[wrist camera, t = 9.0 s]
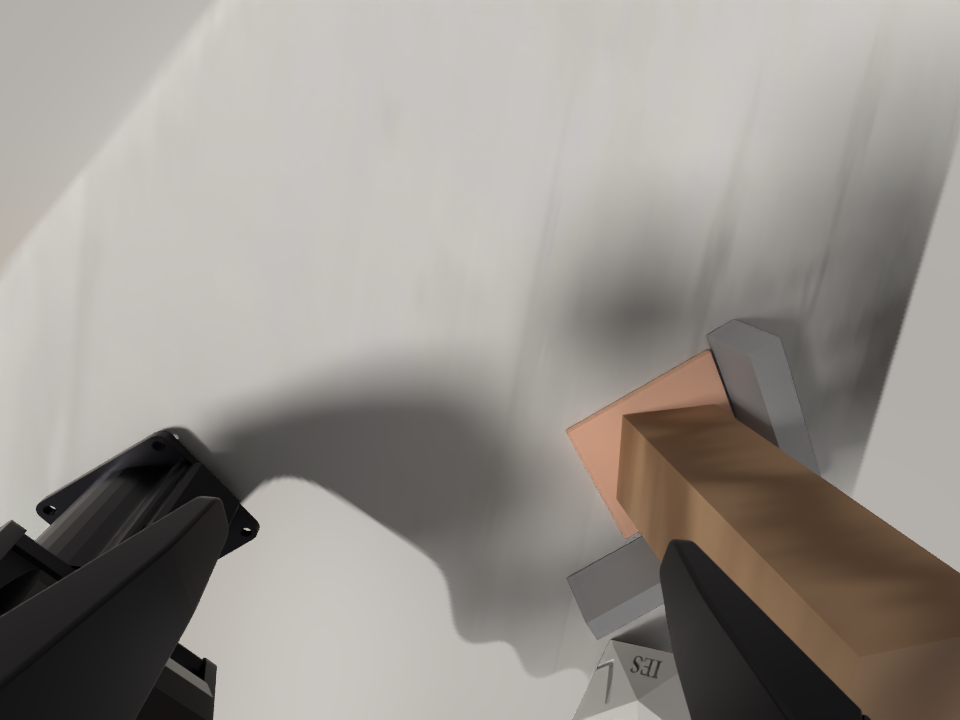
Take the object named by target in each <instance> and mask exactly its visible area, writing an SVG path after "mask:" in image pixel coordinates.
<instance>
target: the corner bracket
mask: <svg viewBox="0 0 960 720" xmlns="http://www.w3.org/2000/svg"><path fill="white" fill-rule="evenodd" d="M707 337H708V339H709V342H710V345H711V348H712V351H713V353H714V356H715V359H716V362H717V364H718V367H719V370H720V373H721V375H722V378H723V381H724V384H725V387H726V389H727V392H728V395H729V398H730V400H731V403H732V406H733V409H734V411H735V414H736V417H737V420H739V421H740V422H742V423H743V424H744V425H746V426H747V427H749V428H750V429H752V430H753V431H755V432H756V433H758V434H759V435H760V436H762V437H763V438H765V439H766V440H768V441H769V442H771V443H772V444H773V445H775V446H776V447H778V448H779V449H781V450H782V451H784V452H785V453H786V454H788V455H789V456H791V457H792V458H794V459H795V460H797V461H798V462H799V463H801V464H802V465H804V466H805V467H807V468H808V469H810V470H811V471H813V472H814V473H815V474H817V475H818V476H820V473H819V469H818V466H817V462H816V459H815V455H814V452H813V448H812V445H811V442H810V438H809V435H808V431H807V428H806V424H805V421H804V417H803V414H802V411H801V407H800V404H799V400H798V397H797V393H796V390H795V386H794V383H793V380H792V376H791V373H790V369H789V366H788V362H787V359H786V355H785V352H784V349H783V345H782V342H781V338H780V337H777V336H775V335H772V334H770V333H767V332H765V331H762V330H760V329H757V328H755V327H752V326H750V325H747V324H745V323H742V322H740V321H737V320H735V319H734V320H732V321H730V322H728V323H727V324H725V325H723V326H721V327H720V328H718V329H716V330H714V331H713V332H711V333H709V334H707ZM820 477H821V476H820ZM660 565H661V562H660V561H659V559H658V558H657V557H656V555H655V554H654V552H653V551H652V549H651V548H650V547H649V545H648V544H647V542H646V541H645V539H644V538H643V536H642V537H640V538H638V539H636V540H635V541H633V542H631V543H629V544H627V545H626V546H624V547H622V548H620V549H618V550H617V551H615V552H613V553H611V554H609V555H608V556H606V557H604V558H602V559H600V560H599V561H597V562H595V563H593V564H592V565H590V566H588V567H586V568H584V569H583V570H581V571H579V572H577V573H575V574H574V575H572V576H570V577H568V578H567V580H568V582H569V585H570V587H571V589H572V592H573V594H574V596H575V598H576V601H577V603H578V605H579V608H580V610H581V612H582V615H583V617H584V619H585V622H586V624H587V625H588V627H589V628H590V630H591V631H592V633H593V634H594V636H595V637H596V639H597V640H598V639H600V638H602V637H604V636H606V635H608V634H609V633H611V632H613V631H615V630H617V629H618V628H620V627H622V626H624V625H626V624H627V623H629V622H631V621H633V620H635V619H637V618H638V617H640V616H642V615H644V614H646V613H647V612H649V611H651V610H653V609H655V608H657V607H658V606H660V605H662V604H664V600H663V594H662V589H661V583H660V575H659V571H660Z"/></svg>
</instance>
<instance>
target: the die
mask: <svg viewBox="0 0 960 720" xmlns="http://www.w3.org/2000/svg"><path fill="white" fill-rule="evenodd" d="M573 720H691V718H690V714H689V711H688V707H687V703H686V700H685V696H684V693H683V689H682V686H681V682H680V679H679V675H678V672H677V668H676V664H675V660H674V655H673V653H670V652H665V651H660V650H656V649H651V648H647V647H642V646H637V645H633V644H628V643H624V642H619V641H614V640H610V641H609V643H608V645H607V648H606V650H605V652H604V654H603V656H602V658H601V660H600V662H599V665H598V668H597V670H596V671H595V673H594V675H593V677H592V679H591V681H590V684H589V686H588V688H587V690H586V692H585V694H584V696H583V698H582V700H581V703H580V705H579V707H578V709H577V711H576V713H575V715H574V717H573Z"/></svg>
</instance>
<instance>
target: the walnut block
mask: <svg viewBox="0 0 960 720" xmlns="http://www.w3.org/2000/svg"><path fill="white" fill-rule="evenodd" d="M616 499H617V501H618V502H619V504H620V505H621V506H622V508H623V509H624V511H625V512H626V514H627V515H628V516H629V518H630V519H631V521H632V522H633V524H634V525H635V526H636V528H637V529H638V531H639V532H640V534H641V535H642V536H643V538H644V539H645V541H646V542H647V544H648V545H649V547H650V548H651V549H652V551H653V552H654V554H655V555H656V557H657V558H658V559H659V561H660V562H662V559H663V557H664V554H665V551H666V548H667V546H668V543H669V541H670V540H672V539H683V540H691V541H693V542H694V543H696V544H697V545H698V546H699V547H700V548H701V549H702V550H703V551H704V552H705V553H706V554H707V555H708V556H709V557H710V558H711V559H712V560H713V561H714V562H715V563H716V564H717V565H718V566H719V567H720V568H721V569H722V570H723V571H724V572H725V573H726V574H727V575H728V576H729V577H730V578H731V579H732V580H733V581H734V582H735V583H736V584H737V585H738V586H739V587H740V588H741V589H742V590H743V591H744V592H745V593H746V594H747V595H748V596H749V597H750V598H751V599H752V600H753V601H754V602H755V603H756V604H757V605H758V606H759V607H760V608H761V609H762V610H763V611H764V612H765V613H766V614H767V615H768V616H769V617H770V618H771V619H772V621H773V622H774V623H775V624H776V625H777V626H778V627H779V628H780V629H781V630H782V631H783V632H784V633H785V634H786V635H787V636H788V637H789V638H790V639H791V640H792V641H793V642H794V643H795V644H796V645H797V646H798V647H799V648H800V649H801V650H802V651H803V652H804V653H805V654H806V655H807V656H808V657H809V658H810V659H811V660H812V661H813V662H814V663H815V664H816V665H817V666H818V667H819V668H820V669H821V670H822V671H823V672H824V673H825V674H826V675H827V676H828V677H829V678H830V679H831V680H832V681H833V682H834V683H835V684H836V685H837V686H838V687H839V688H840V689H841V690H842V691H843V692H844V693H845V694H846V695H847V696H848V697H849V698H850V699H851V700H852V701H853V702H854V703H855V704H856V705H857V706H858V707H859V708H860V709H861V710H862V714H865V715H867V716H868V717H869V718H870V719H871V720H960V573H959V572H957V571H956V570H954V569H953V568H951V567H950V566H949V565H947V564H946V563H944V562H943V561H941V560H940V559H938V558H937V557H936V556H934V555H933V554H931V553H930V552H928V551H927V550H925V549H924V548H923V547H921V546H919V545H918V544H916V543H915V542H914V541H912V540H911V539H909V538H908V537H907V536H905V535H904V534H902V533H901V532H899V531H898V530H896V529H895V528H894V527H892V526H891V525H889V524H888V523H886V522H885V521H883V520H882V519H881V518H879V517H878V516H876V515H875V514H873V513H872V512H870V511H869V510H867V509H866V508H865V507H863V506H862V505H860V504H859V503H857V502H856V501H854V500H853V499H852V498H850V497H849V496H847V495H846V494H844V493H843V492H841V491H840V490H839V489H837V488H836V487H834V486H833V485H831V484H830V483H828V482H827V481H826V480H824V479H823V478H821V477H820V476H818V475H817V474H815V473H814V472H813V471H811V470H810V469H808V468H807V467H805V466H804V465H802V464H801V463H799V462H798V461H797V460H795V459H794V458H792V457H791V456H789V455H788V454H786V453H785V452H784V451H782V450H781V449H779V448H778V447H776V446H775V445H773V444H772V443H771V442H769V441H768V440H766V439H765V438H763V437H762V436H760V435H759V434H758V433H756V432H755V431H753V430H752V429H750V428H749V427H747V426H746V425H744V424H743V423H742V422H740V421H739V420H737V419H736V418H734V417H733V416H731V415H730V414H729V413H727V412H726V411H724V410H723V409H721V408H720V407H718V406H717V405H716V404H712V405H704V406H695V407H686V408H678V409H669V410H660V411H652V412H643V413H634V414H626V415H622V428H621V441H620V455H619V468H618V481H617V494H616Z"/></svg>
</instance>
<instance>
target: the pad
mask: <svg viewBox="0 0 960 720" xmlns="http://www.w3.org/2000/svg"><path fill="white" fill-rule="evenodd" d="M712 404H716V405H717V406H718V407H720V408H721V409H723V410H724V411H726V412H727V413H729V414H730V415H731V416H733V417H734V415H733V412H732V409H731V407H730V404H729V401H728V398H727V396H726V393H725V390H724V387H723V385H722V382H721V379H720V376H719V374H718V371H717V368H716V365H715V363H714V360H713V357H712V354H711V352H710V351H708V350H706V351H704V352H702V353H700V354H699V355H697V356H695V357H693V358H692V359H690V360H688V361H686V362H685V363H683V364H681V365H679V366H678V367H676V368H674V369H672V370H671V371H669V372H667V373H665V374H664V375H662V376H660V377H658V378H656V379H655V380H653V381H651V382H649V383H648V384H646V385H644V386H642V387H641V388H639V389H637V390H635V391H634V392H632V393H630V394H628V395H627V396H625V397H623V398H621V399H620V400H618V401H616V402H614V403H613V404H611V405H609V406H607V407H606V408H604V409H602V410H600V411H599V412H597V413H595V414H593V415H592V416H590V417H588V418H586V419H585V420H583V421H581V422H579V423H578V424H576V425H574V426H572V427H571V428H569V429H567V430H565V431H566V432H567V434H568V436H569V438H570V440H571V442H572V443H573V445H574V447H575V449H576V451H577V452H578V454H579V456H580V458H581V460H582V461H583V463H584V465H585V467H586V469H587V471H588V472H589V474H590V476H591V478H592V480H593V481H594V483H595V485H596V487H597V489H598V490H599V492H600V494H601V496H602V498H603V500H604V501H605V503H606V505H607V507H608V509H609V510H610V512H611V514H612V516H613V518H614V519H615V521H616V523H617V525H618V527H619V529H620V530H621V532H622V534H623V536H624V537H625V539H627V538H629V537H631V536H632V535H634V534H636V533H638V532H639V531H638V529H637V528H636V526H635V525H634V524H633V522H632V521H631V519H630V518H629V516H628V515H627V514H626V512H625V511H624V509H623V508H622V506H621V505H620V504H619V502H618V501H617V499H616V494H617V481H618V468H619V455H620V441H621V428H622V415H626V414H634V413H643V412H652V411H660V410H669V409H678V408H686V407H695V406H704V405H712Z"/></svg>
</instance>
